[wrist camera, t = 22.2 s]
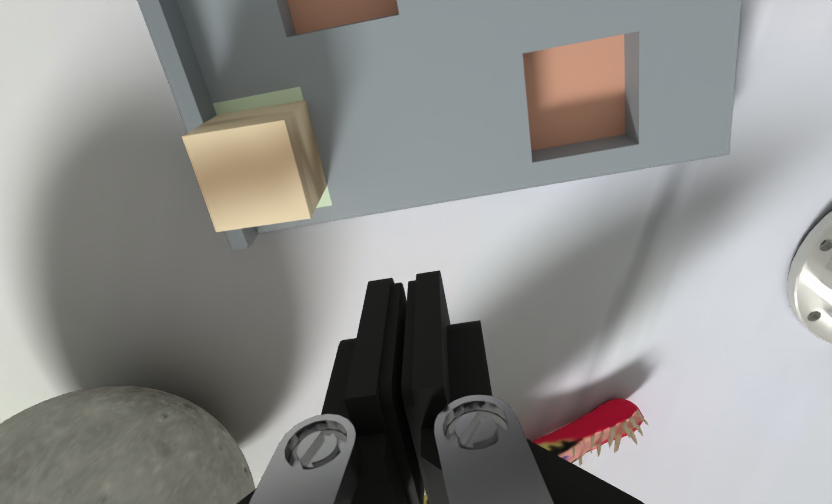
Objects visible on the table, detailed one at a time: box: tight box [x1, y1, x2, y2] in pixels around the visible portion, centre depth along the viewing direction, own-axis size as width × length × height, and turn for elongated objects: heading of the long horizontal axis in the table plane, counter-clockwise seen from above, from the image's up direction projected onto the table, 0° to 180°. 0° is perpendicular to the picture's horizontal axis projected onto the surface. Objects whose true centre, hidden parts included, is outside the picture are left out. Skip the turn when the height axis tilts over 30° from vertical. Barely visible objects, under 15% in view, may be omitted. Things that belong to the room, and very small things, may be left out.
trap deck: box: [137, 0, 741, 250], centre depth 28 cm, size 18×29×4 cm, turn 101°
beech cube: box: [182, 100, 327, 232], centre depth 28 cm, size 5×5×5 cm
